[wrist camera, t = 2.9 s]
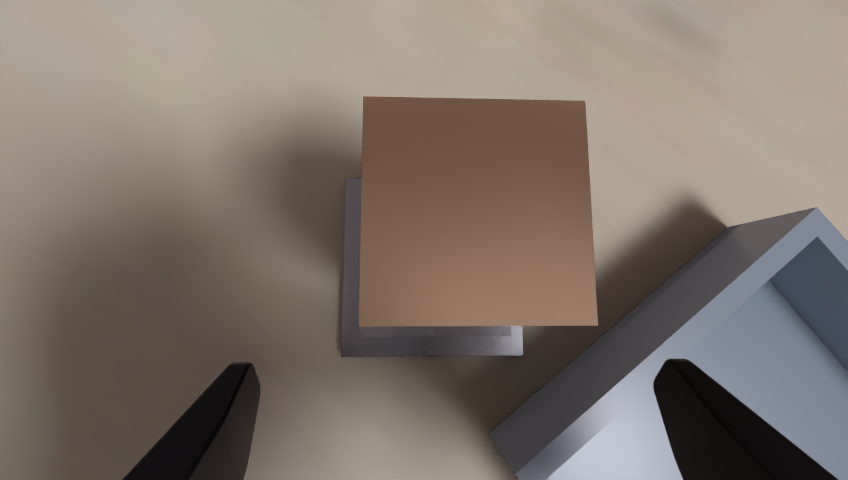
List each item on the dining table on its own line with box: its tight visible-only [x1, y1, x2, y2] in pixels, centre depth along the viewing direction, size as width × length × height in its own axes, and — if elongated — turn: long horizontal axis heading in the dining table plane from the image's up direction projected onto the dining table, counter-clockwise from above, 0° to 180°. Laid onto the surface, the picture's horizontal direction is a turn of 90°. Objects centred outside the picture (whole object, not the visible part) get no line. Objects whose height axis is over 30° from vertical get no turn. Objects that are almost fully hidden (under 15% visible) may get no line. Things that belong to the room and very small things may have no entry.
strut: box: [359, 97, 598, 327], centre depth 13 cm, size 4×4×12 cm
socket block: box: [341, 178, 523, 357], centre depth 19 cm, size 8×8×3 cm
